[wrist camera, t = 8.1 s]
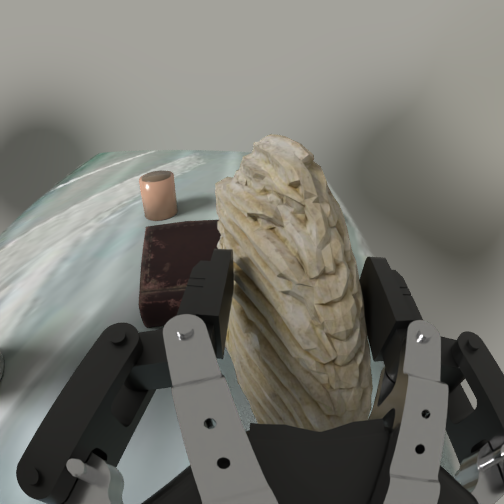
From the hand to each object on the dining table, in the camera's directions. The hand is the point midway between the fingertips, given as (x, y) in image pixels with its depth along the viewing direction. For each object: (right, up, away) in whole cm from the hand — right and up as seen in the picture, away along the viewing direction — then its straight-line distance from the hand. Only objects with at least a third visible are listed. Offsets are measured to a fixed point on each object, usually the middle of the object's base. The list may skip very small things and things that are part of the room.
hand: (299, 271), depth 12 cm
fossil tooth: (0, -5, +5) cm, 7 cm away
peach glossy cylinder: (-21, +9, +46) cm, 51 cm away
